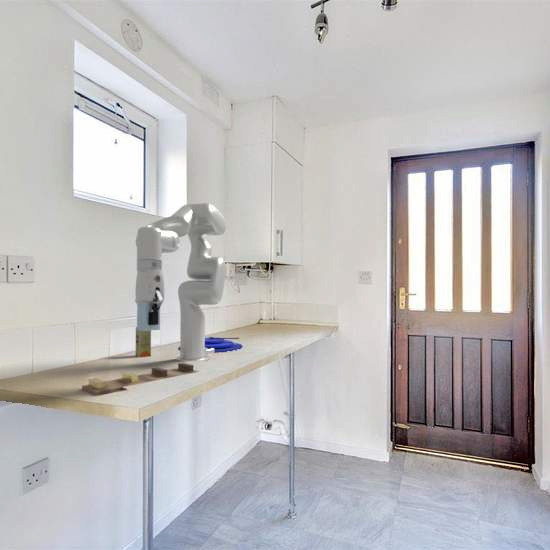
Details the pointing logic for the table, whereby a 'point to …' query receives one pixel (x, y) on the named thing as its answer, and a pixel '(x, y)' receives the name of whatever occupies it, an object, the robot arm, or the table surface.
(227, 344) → the coiled blue cable
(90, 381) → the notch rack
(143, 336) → the shoe polish box
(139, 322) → the painted block
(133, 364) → the table surface
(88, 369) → the table surface
